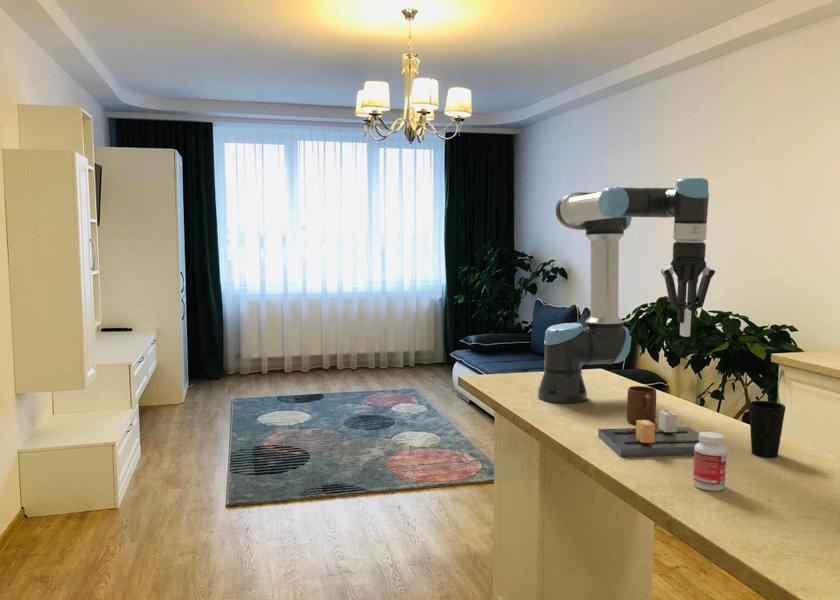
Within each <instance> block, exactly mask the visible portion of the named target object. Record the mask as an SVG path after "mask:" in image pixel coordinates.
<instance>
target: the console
mask: <svg viewBox="0 0 840 600" xmlns="http://www.w3.org/2000/svg"><path fill="white" fill-rule="evenodd" d="M699 433H700V432H699ZM699 433H698V432H697V431H696V430H695V429H692V428H691V427H690V426H677V432H664V431H663V430H661V429H660V428H658V427H655V439H654V443H642V442H640V441H639V440H638V439H637V438H636V427H634V428H633V427H632V428H626V427H625V428H624V427H623V428H622V427H621V428H598V431H597V435H598V436H597V437H598V438H599V439H601V441H602V442H603V443H605V444H606V446H608V447H609V448H610V449H612V451H613V452H614V453H616V454H617V455H618V456H619V457H620V458H629V457H669V456H670V457H672V456H694V448H695V445H696V444H697V443H699V442H700V441H699V439H698V438H699Z"/></svg>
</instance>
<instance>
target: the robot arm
mask: <svg viewBox="0 0 840 600" xmlns="http://www.w3.org/2000/svg"><path fill="white" fill-rule="evenodd" d="M709 198H710V192H709V180H708V179H707V178H703V177H684V178H683V177H682V178H678V180H677V181H676V182H675V187H620V186H614V187H606V188H604V189H603V190H602V191H598V192H582V191H581V192H580V191H578V192H571V193H569V194H565V195H563V196H562V197H561V198H560V199H559V200H558V201H557V203H556V206H555V215H556V219H557V220H558V221H559V223H560V224H561V225H563V226H564V227H566V228H569V229H570V230H577V231H578V230H579V231H582V230H583V231H585V237H586V238H587V239H588V240H589V241H590V316H589V317H588V318H587V319H586V320H585V327H584V326H583V324H582V323H579V322H571V323H569V322H565V323H559V324H553V325H551V326H548V327H547V329H546V330H545V332H544V341H543V344H544V351H543V353H544V358H543V360H544V361H543V365H544V366H543V375H542V379H541V381H540V384H539V387H538V390H537V394H538V395H537V397H538V398H539V399H540V400H542V401H546V402H549V403H550V402H551V403H557V404H558V403H559V404H576V403H577V404H578V403H581V402H585V401H587V399H588V397H587V395H588V394H587V393H588V392H587V388H586V384H585V381H584V379H583V373H582V368H583V365H598V364H599V365H600V364H606V365H612V364H617V363H618V364H619V363H621V362H623V361H624V360H626V358H627V357H628V355H629V353H630V350H631V346H632V345H631V344H632V337H631V333H630V330H629V328H627V327H626V326H624V320H622V318H620V316H619V277H620V276H619V275H620V274H619V273H620V269H619V259H620V257H619V254H620V252H619V250H620V248H619V247H620V245H619V243H620V240H621V239H622V237H624V236H625V234H624V233H625V232H624V231H625V230H627V229H628V228H629V227H630V225H631V221H632V218H664V219H665V218H668V219H669V218H674V223H673V238H672V239H673V240H675V242H673V244H672V245H673V246H672V260H671V262H670V266H669V267H667V268H663V269H661V271H660V273H661V275H662V276H663V278H664V280H665V286H666V290H667V297H668V302H669V306H670V307H672V308H675V309H676V310H677V311H676V312H677V317H676V321H677V323H679V336H682V337H684V338H685V337H688V338H689V337H691V327H692V326H691V324H692V323H693V324H694V322H695V316H696V315H695V312H696V311H697V309H699V308H703V306H704V303H705V300H706V297H707V293H708V289H709V287H710V286H709V285H710V282H711V280H712V278H713V277H714V275H715V273H716V271H715V269H711V268H710V267H709V266H707V262H706V259H705V258H706V247H707V243H705V242H704V241H705V240H707V228H708V227H707V226H708V225H707V224H708V211H709V210H708V209H709ZM674 274H675V275H676V277H677V279H676V280H677V290H676V285H675V280H674ZM701 275H702V276H701ZM700 276H701V279H700V283H699V277H700ZM698 283H699V285H698ZM686 308H687V309H686Z"/></svg>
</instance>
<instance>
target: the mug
mask: <svg viewBox="0 0 840 600" xmlns="http://www.w3.org/2000/svg"><path fill="white" fill-rule="evenodd" d="M626 401H627V402H626V404H627V405H626V410H627V411H626V420H627V422H628V423H630V424H632V425H635V426H636V420H649V421H650V422H652V423H653V424H655V423H656V417H657V416H656V413H657V390H656V389H655V387H654V388H653V387H649V386H643V385H642V386H641V385H635V386H633V385H632V386H629V387H628V388H627V400H626Z"/></svg>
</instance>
